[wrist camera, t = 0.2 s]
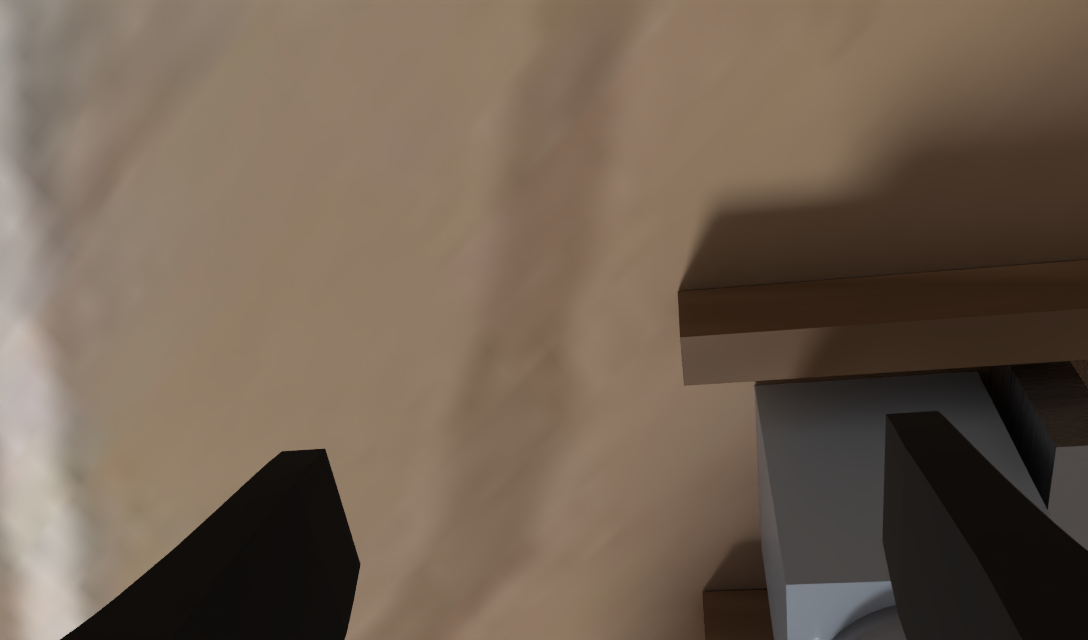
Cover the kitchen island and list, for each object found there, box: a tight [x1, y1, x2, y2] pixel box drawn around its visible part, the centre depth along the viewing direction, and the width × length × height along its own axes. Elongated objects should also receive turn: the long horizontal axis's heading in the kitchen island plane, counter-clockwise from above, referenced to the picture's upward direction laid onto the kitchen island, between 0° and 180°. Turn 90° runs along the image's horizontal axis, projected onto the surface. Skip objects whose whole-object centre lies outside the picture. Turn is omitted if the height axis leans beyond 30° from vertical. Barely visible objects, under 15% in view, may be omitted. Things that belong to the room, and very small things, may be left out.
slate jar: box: [754, 372, 1053, 640], centre depth 22 cm, size 5×5×7 cm
